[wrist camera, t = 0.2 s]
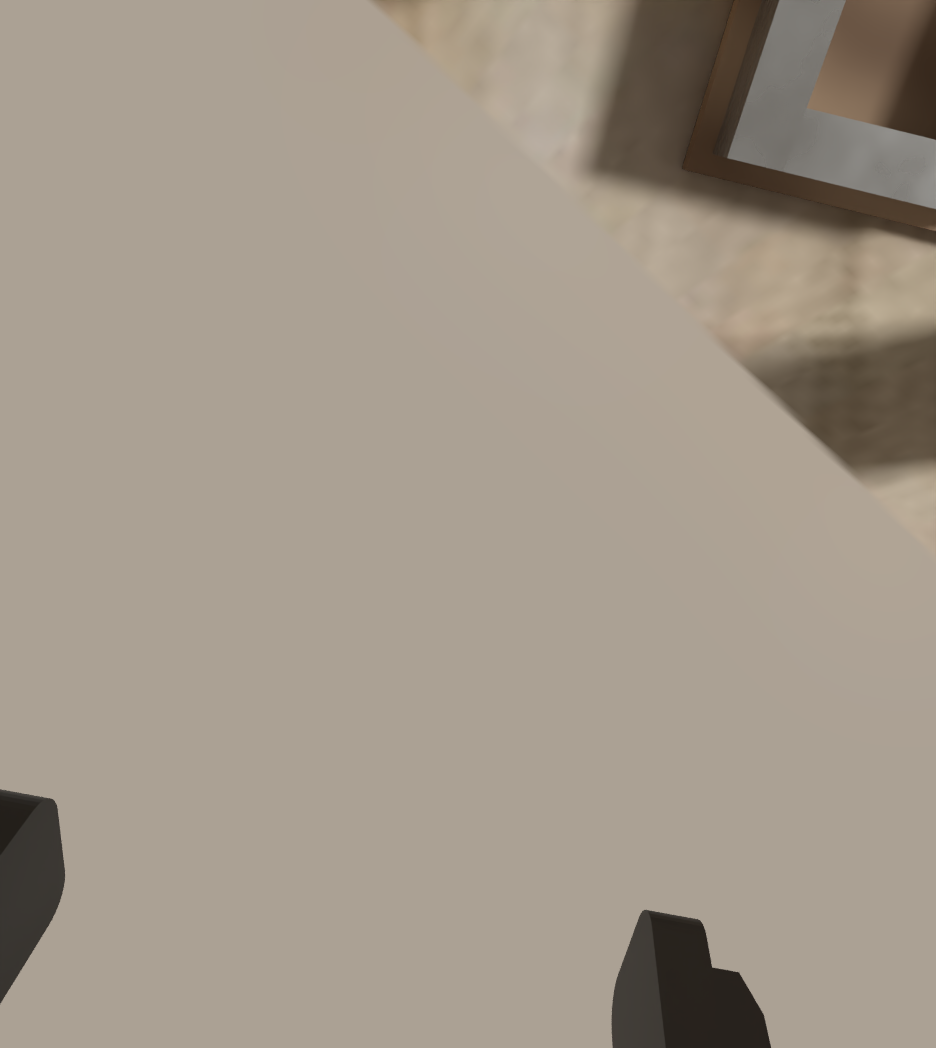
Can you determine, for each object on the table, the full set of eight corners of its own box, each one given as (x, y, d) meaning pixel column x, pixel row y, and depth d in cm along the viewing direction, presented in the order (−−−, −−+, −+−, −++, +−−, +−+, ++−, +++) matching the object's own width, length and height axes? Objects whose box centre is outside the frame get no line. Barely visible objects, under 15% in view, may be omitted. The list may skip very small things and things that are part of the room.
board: (803, -223, 27) (813, -236, 26) (1157, -134, 27) (1182, -144, 26) (682, 167, 33) (686, 170, 31) (977, 240, 33) (991, 244, 32)
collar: (826, -200, 26) (857, -235, 24) (1145, -121, 26) (1211, -146, 24) (712, 153, 31) (726, 158, 28) (982, 219, 31) (1022, 230, 29)
